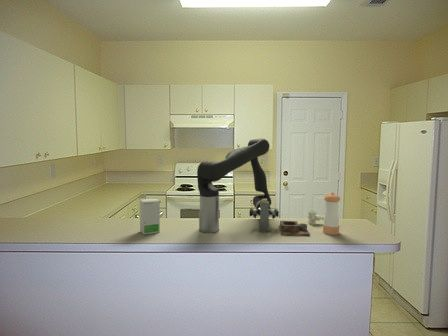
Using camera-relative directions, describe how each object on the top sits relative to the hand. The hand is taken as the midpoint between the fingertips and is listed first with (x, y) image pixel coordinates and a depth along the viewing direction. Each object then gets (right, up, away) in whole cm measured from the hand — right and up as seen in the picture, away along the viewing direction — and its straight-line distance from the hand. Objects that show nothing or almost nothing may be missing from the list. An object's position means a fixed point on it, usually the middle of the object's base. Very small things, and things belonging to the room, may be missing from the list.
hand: (264, 216), depth 151 cm
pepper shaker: (+32, -8, 0) cm, 32 cm away
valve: (+30, -6, +14) cm, 34 cm away
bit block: (+14, -7, +1) cm, 16 cm away
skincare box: (-55, -8, +1) cm, 55 cm away
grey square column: (0, -7, +2) cm, 8 cm away
